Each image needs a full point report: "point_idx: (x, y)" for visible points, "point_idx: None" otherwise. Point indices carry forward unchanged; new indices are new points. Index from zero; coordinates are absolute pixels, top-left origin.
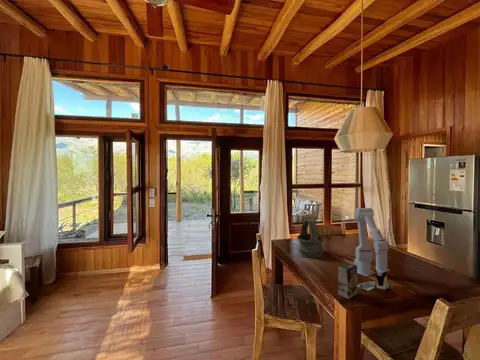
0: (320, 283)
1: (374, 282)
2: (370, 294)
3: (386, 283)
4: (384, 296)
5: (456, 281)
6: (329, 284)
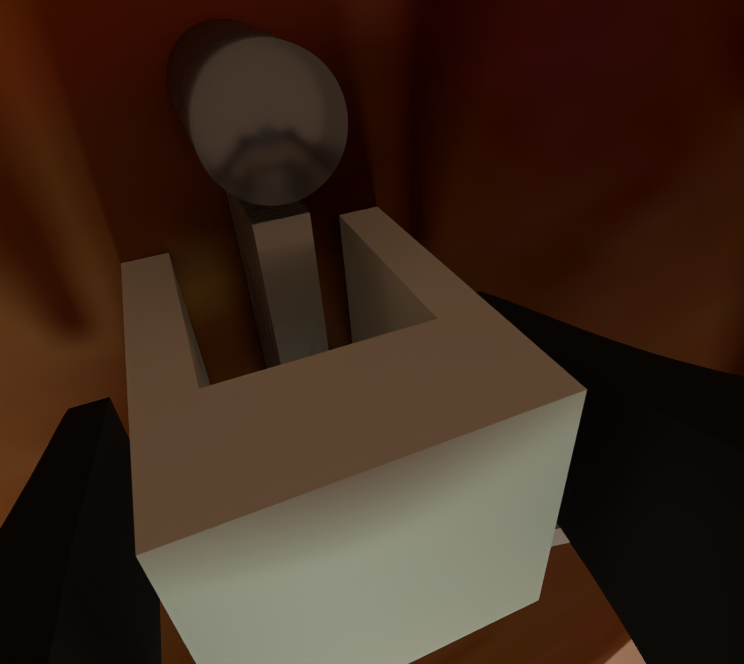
0: (610, 657)
1: None
2: (706, 307)
3: (180, 310)
4: (725, 100)
5: None
6: (601, 632)
